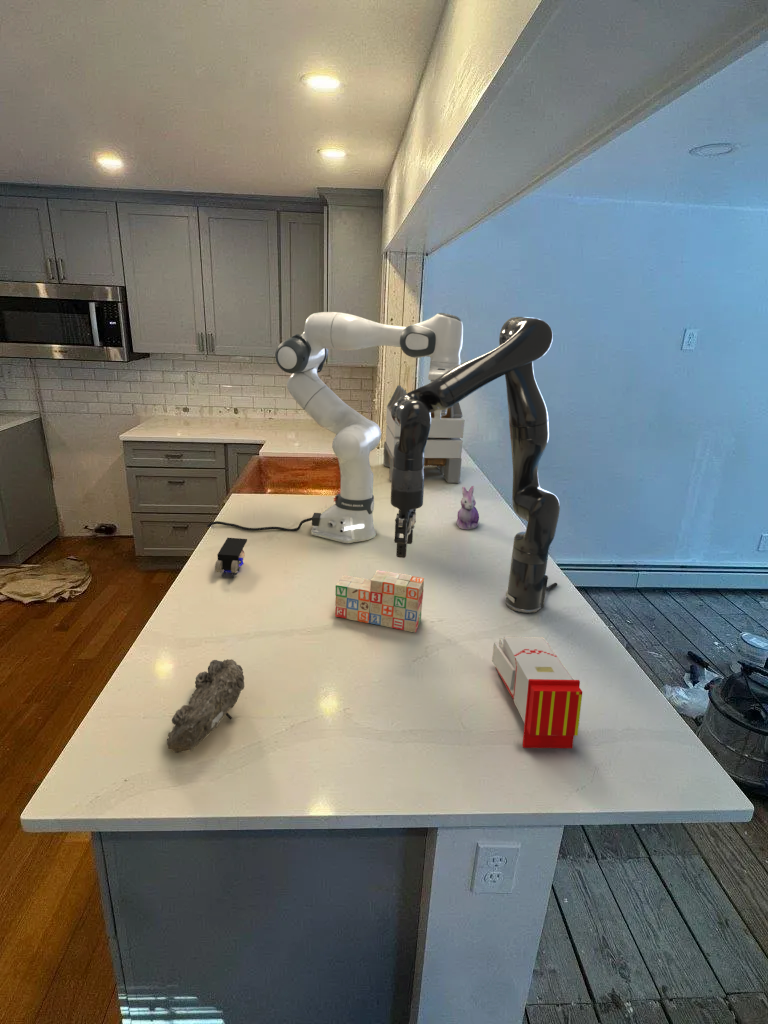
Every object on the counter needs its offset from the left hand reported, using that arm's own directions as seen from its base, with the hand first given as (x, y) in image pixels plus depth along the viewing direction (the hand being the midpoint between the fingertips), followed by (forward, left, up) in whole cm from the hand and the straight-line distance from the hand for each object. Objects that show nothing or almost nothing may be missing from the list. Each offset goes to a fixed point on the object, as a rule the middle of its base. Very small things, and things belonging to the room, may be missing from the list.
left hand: (440, 418), depth 172 cm
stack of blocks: (-4, -48, -44) cm, 65 cm away
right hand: (+2, -48, -24) cm, 54 cm away
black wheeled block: (-52, -35, -44) cm, 77 cm away
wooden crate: (-24, +90, -44) cm, 103 cm away
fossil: (-23, -93, -44) cm, 106 cm away
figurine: (+8, +28, -44) cm, 53 cm away
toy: (+34, -68, -44) cm, 88 cm away
